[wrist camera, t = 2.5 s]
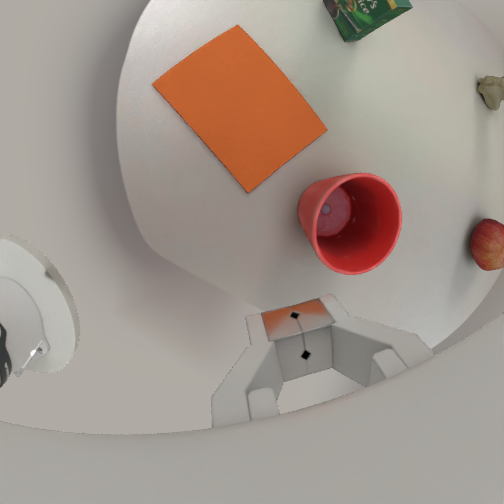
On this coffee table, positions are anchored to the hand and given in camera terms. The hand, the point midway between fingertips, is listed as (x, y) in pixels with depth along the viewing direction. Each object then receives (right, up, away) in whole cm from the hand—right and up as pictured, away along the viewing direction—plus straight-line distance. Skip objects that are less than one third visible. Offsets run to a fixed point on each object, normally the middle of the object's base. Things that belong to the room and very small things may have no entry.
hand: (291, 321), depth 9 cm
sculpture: (+45, +34, +24) cm, 62 cm away
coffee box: (+11, +35, +18) cm, 41 cm away
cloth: (-2, +20, +21) cm, 29 cm away
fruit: (+44, +5, +34) cm, 56 cm away
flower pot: (+8, +8, +27) cm, 29 cm away
